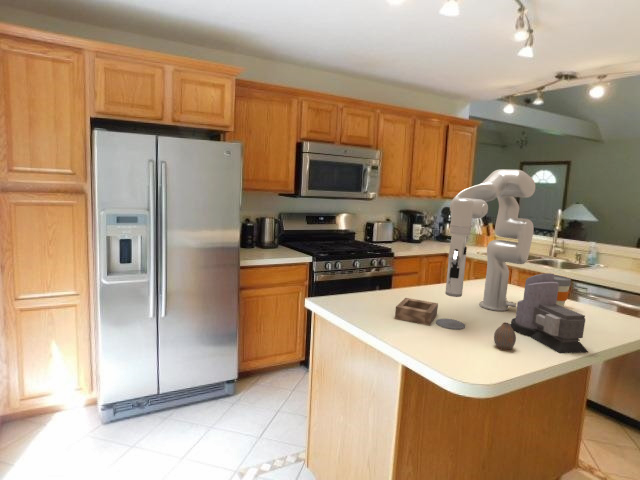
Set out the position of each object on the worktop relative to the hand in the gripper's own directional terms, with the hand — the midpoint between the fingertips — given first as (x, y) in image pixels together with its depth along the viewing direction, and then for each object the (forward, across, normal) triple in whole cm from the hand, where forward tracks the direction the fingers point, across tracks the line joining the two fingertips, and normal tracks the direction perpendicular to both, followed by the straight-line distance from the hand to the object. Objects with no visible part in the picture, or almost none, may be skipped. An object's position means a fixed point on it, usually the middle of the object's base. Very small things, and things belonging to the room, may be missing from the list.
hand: (455, 275), depth 161 cm
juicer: (+20, -7, +33) cm, 40 cm away
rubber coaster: (+20, 0, 0) cm, 20 cm away
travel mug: (+8, 0, 0) cm, 8 cm away
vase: (+20, +14, +20) cm, 32 cm away
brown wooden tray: (+20, -2, -14) cm, 24 cm away
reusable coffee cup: (+20, -55, +39) cm, 71 cm away
